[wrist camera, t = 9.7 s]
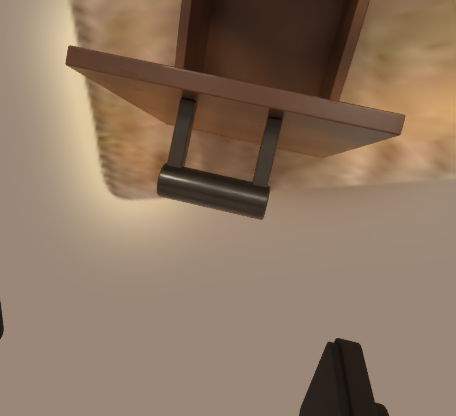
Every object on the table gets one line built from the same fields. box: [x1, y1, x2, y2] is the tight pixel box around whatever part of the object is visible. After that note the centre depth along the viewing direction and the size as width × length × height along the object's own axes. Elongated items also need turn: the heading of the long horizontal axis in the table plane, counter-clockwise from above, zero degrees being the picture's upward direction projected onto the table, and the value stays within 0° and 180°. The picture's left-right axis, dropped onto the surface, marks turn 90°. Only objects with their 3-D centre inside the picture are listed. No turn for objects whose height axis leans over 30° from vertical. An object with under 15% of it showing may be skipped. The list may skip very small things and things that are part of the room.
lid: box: [66, 46, 405, 220], centre depth 22 cm, size 16×14×5 cm
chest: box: [175, 0, 370, 101], centre depth 31 cm, size 16×14×9 cm
